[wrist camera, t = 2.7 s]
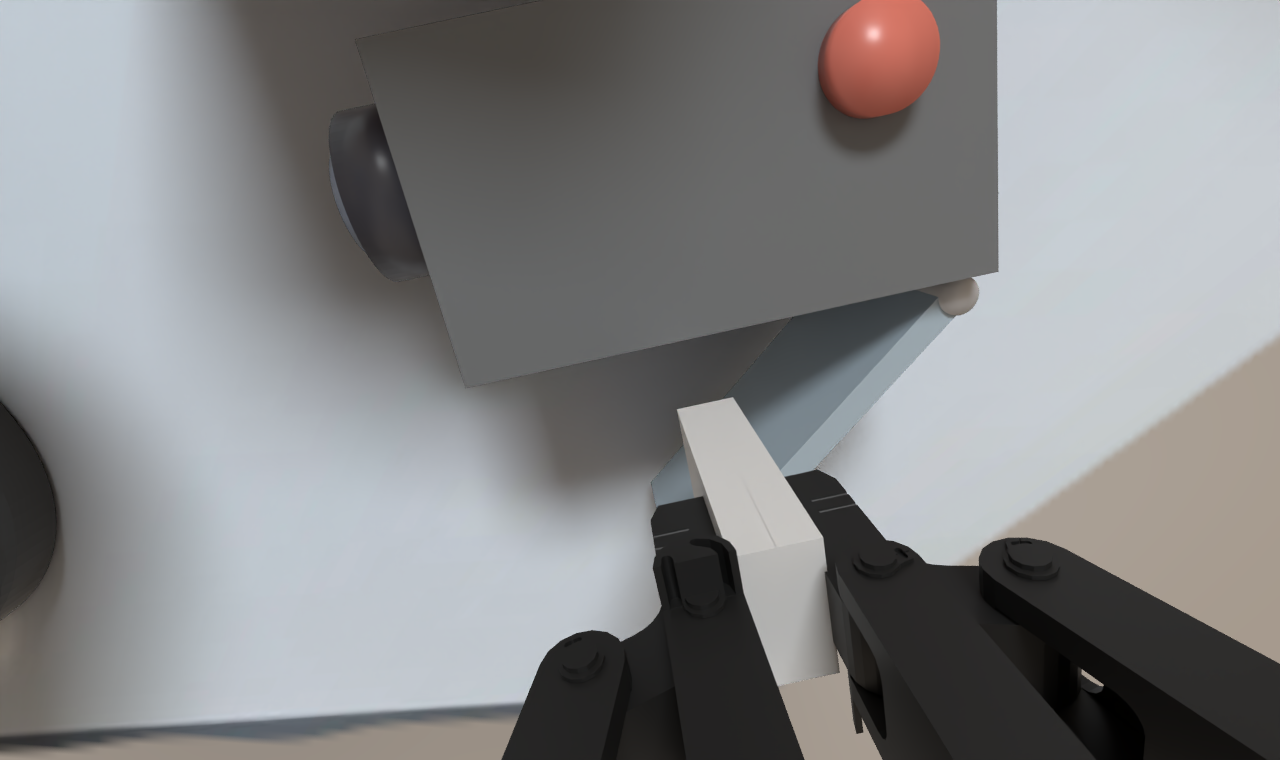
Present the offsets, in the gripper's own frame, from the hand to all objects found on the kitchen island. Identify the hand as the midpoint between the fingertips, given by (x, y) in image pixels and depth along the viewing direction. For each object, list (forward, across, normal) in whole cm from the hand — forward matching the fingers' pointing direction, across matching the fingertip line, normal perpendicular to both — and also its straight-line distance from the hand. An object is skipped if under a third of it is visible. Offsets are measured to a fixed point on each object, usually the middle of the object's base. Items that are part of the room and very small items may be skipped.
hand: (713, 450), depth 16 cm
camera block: (+9, 0, +7) cm, 12 cm away
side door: (+9, +3, -1) cm, 9 cm away
